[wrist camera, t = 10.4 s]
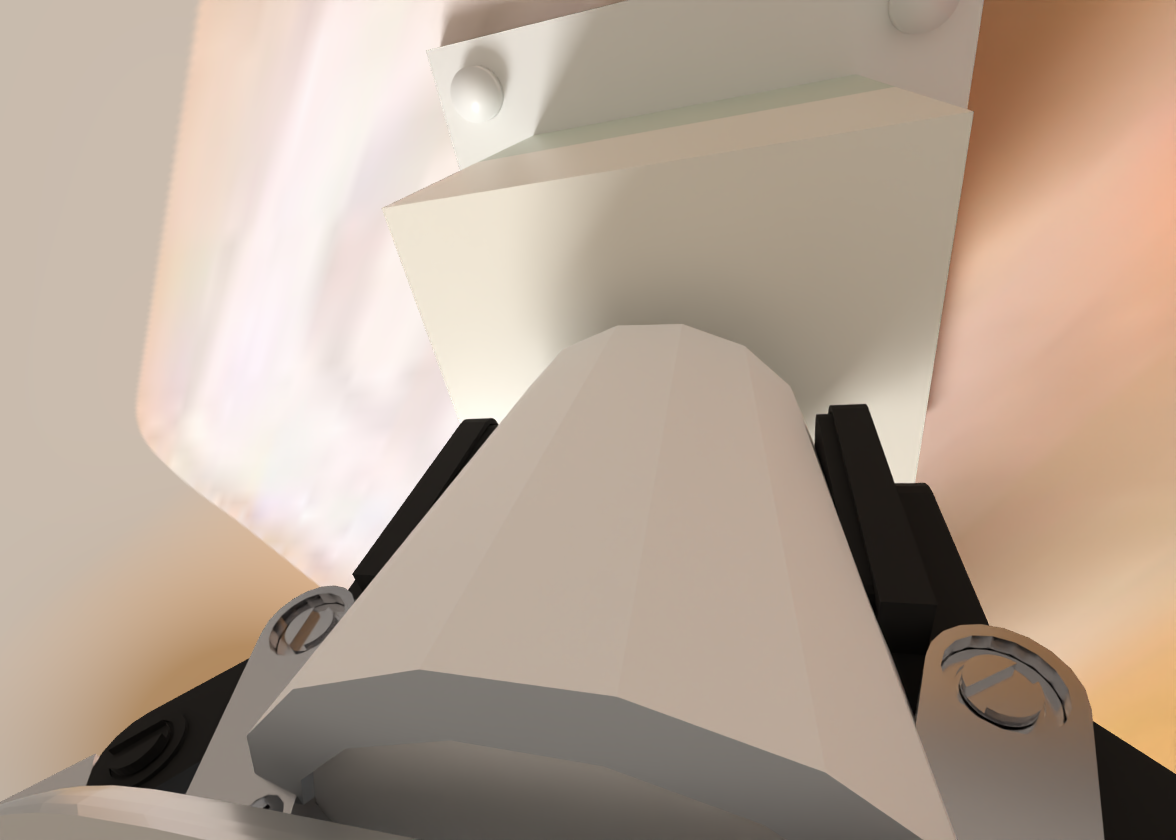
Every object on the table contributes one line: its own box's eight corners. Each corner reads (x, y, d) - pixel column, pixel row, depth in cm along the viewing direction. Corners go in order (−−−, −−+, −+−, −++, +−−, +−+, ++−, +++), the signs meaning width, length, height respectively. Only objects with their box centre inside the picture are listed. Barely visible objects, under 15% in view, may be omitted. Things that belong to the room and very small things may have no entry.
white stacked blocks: (983, -85, 15) (1367, -276, 6) (910, 425, 23) (1019, 670, 14) (439, 50, 19) (178, 61, 10) (544, 435, 27) (451, 626, 19)
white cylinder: (862, 567, 11) (990, 1087, 6) (556, 583, 14) (432, 965, 8) (830, 238, 8) (1053, 700, 2) (433, 333, 10) (81, 681, 5)
